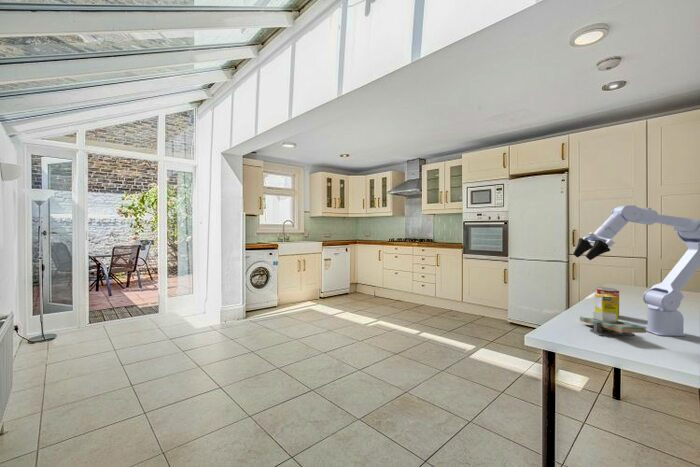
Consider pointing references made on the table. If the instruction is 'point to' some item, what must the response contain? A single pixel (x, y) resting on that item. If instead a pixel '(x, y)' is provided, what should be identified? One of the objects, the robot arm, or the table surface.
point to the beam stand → (608, 331)
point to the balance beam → (617, 326)
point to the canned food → (609, 291)
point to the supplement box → (606, 303)
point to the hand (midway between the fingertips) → (581, 256)
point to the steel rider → (605, 317)
